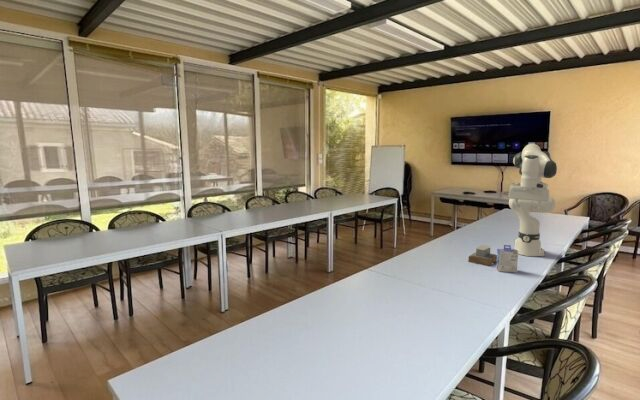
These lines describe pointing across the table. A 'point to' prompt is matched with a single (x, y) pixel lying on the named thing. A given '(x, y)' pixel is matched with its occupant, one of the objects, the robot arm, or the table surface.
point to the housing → (483, 251)
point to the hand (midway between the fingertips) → (527, 207)
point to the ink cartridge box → (507, 259)
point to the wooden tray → (483, 259)
